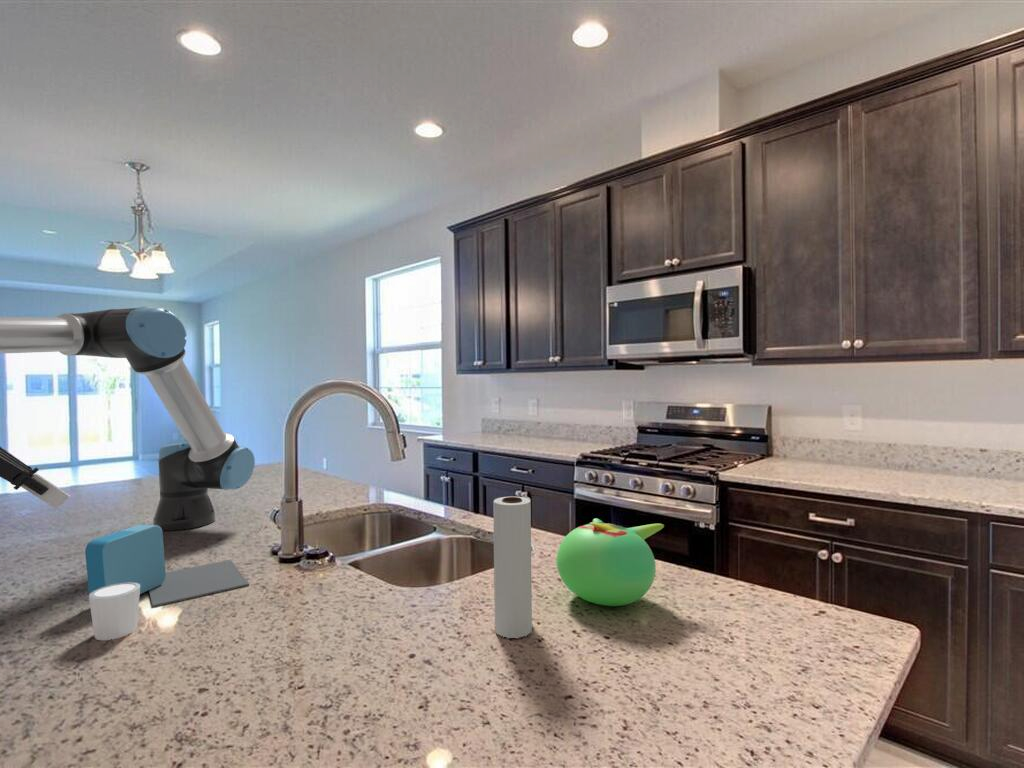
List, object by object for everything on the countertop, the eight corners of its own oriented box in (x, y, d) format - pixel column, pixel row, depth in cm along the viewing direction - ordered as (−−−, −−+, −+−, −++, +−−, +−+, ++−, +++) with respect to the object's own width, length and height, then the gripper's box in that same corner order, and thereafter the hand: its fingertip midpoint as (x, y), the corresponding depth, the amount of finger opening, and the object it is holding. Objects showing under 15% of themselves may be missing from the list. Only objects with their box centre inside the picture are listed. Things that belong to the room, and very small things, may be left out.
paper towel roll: (505, 643, 84) (503, 505, 83) (488, 627, 89) (487, 497, 89) (545, 632, 87) (544, 499, 87) (527, 618, 93) (525, 492, 92)
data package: (149, 580, 110) (144, 522, 110) (166, 582, 109) (162, 523, 108) (89, 607, 99) (83, 542, 98) (108, 609, 98) (102, 543, 97)
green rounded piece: (539, 600, 100) (538, 520, 99) (592, 574, 112) (591, 503, 112) (625, 631, 87) (625, 540, 87) (674, 598, 100) (674, 519, 100)
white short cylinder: (150, 626, 91) (149, 585, 91) (105, 645, 85) (104, 601, 85) (125, 619, 94) (124, 579, 94) (80, 637, 88) (79, 594, 87)
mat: (152, 607, 99) (152, 605, 99) (145, 578, 113) (145, 576, 113) (248, 585, 108) (248, 583, 108) (230, 561, 123) (230, 559, 123)
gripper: (-87, 428, 91) (46, 512, 101) (-110, 435, 81) (41, 527, 91) (-43, 395, 94) (82, 480, 104) (-60, 397, 84) (81, 491, 94)
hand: (63, 502), depth 98 cm, fingers closed
